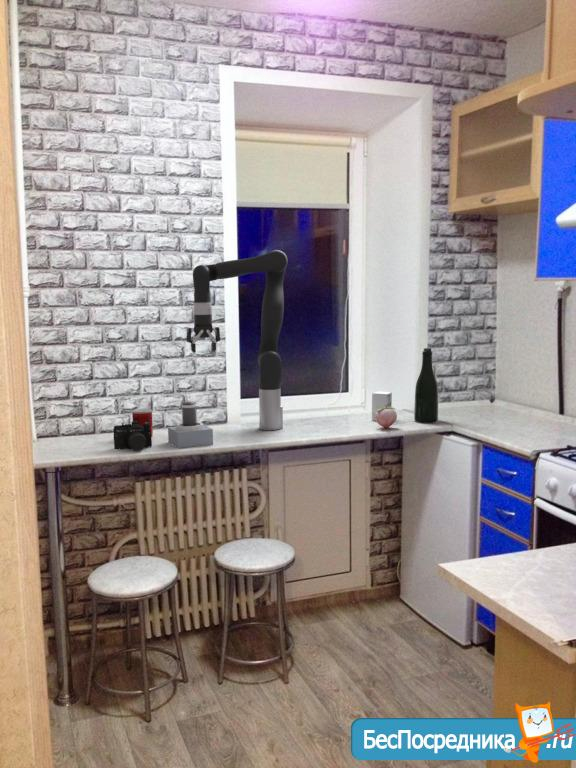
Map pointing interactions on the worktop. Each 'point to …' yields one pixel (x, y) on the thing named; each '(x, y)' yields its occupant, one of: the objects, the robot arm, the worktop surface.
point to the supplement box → (380, 402)
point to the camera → (132, 436)
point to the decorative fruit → (386, 416)
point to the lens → (189, 413)
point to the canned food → (143, 417)
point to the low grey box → (190, 435)
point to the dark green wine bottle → (426, 391)
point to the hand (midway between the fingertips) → (203, 352)
